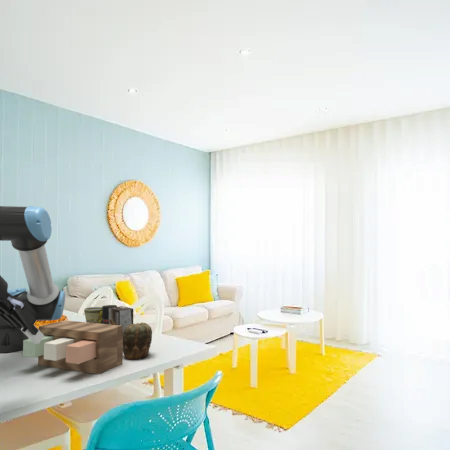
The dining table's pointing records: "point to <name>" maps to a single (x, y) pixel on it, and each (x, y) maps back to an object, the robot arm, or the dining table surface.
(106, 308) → the deodorant
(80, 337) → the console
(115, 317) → the coffee box
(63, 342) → the key cream
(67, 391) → the dining table surface
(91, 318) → the ceramic cup
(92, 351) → the key terracotta
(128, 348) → the shell
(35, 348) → the key sage
